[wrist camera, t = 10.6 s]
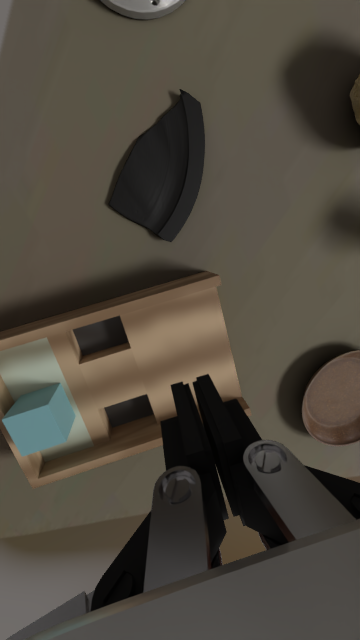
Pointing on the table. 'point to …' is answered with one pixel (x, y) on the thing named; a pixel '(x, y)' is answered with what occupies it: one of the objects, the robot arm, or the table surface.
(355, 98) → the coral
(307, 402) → the saucer
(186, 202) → the fan shaped piece
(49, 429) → the teal block
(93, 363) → the box
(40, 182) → the table surface
